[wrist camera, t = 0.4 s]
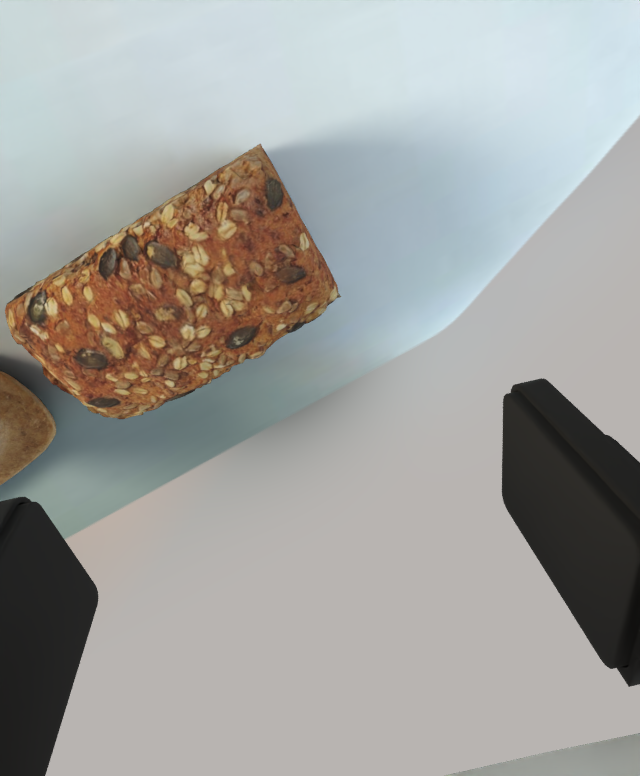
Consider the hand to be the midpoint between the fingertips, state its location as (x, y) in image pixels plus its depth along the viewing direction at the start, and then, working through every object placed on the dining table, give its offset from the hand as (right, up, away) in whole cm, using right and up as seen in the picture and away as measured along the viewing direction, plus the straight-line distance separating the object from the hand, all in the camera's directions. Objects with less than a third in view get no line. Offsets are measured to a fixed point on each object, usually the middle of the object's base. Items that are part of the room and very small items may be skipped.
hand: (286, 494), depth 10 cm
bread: (-9, +11, +26) cm, 30 cm away
